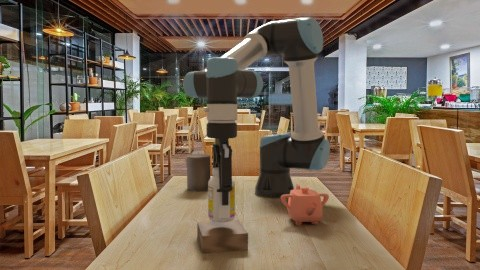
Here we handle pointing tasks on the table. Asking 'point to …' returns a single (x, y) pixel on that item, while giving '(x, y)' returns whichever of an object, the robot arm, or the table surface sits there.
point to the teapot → (304, 205)
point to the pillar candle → (198, 172)
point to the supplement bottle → (214, 198)
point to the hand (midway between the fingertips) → (221, 213)
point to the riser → (222, 236)
